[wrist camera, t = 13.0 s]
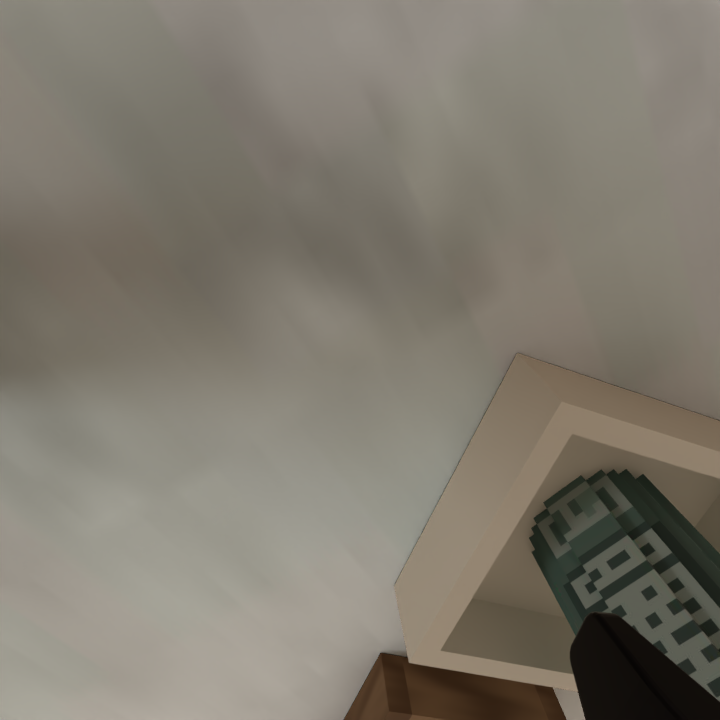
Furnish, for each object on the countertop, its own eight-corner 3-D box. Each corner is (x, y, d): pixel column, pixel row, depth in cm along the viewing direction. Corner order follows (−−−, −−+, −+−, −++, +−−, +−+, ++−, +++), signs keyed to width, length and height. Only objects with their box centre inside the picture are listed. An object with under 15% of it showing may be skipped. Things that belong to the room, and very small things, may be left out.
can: (577, 594, 26) (877, 1115, 12) (506, 529, 24) (777, 1076, 10) (684, 523, 25) (1150, 1017, 11) (620, 446, 22) (1105, 947, 9)
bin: (394, 585, 26) (408, 662, 22) (517, 352, 21) (561, 401, 17) (614, 631, 29) (658, 705, 25) (763, 435, 24) (845, 492, 20)
